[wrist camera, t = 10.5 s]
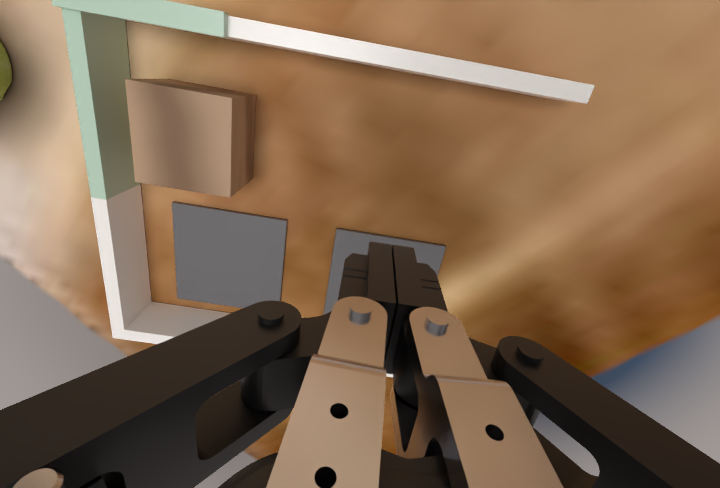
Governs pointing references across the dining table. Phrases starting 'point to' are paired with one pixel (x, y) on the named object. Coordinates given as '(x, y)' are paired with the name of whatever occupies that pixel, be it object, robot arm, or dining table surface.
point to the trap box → (205, 224)
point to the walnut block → (191, 135)
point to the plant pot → (4, 71)
